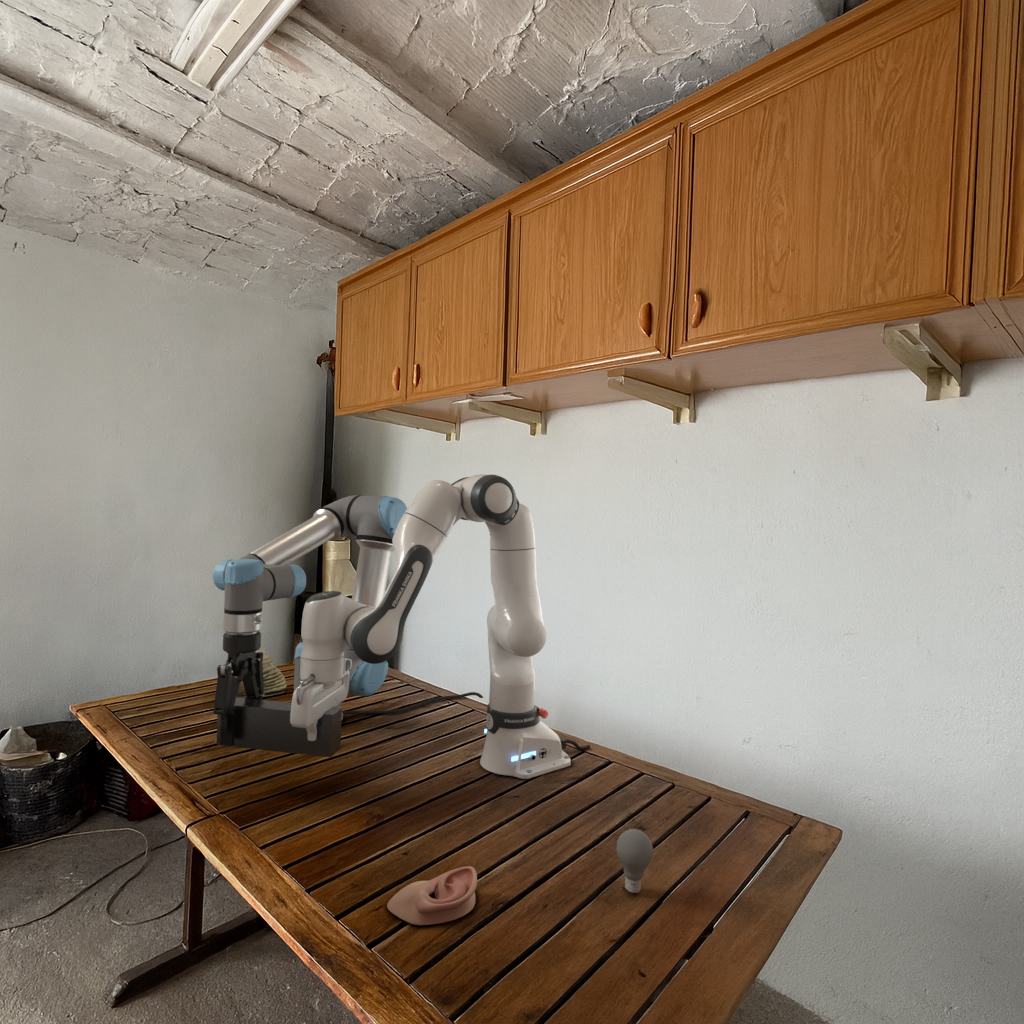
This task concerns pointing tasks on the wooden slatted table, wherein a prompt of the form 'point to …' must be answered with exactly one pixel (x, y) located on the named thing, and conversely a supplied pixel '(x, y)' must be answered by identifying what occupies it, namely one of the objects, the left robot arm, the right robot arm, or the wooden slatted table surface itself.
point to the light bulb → (634, 857)
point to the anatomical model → (436, 898)
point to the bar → (282, 729)
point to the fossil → (267, 679)
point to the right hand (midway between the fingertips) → (319, 734)
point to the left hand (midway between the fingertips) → (238, 737)
